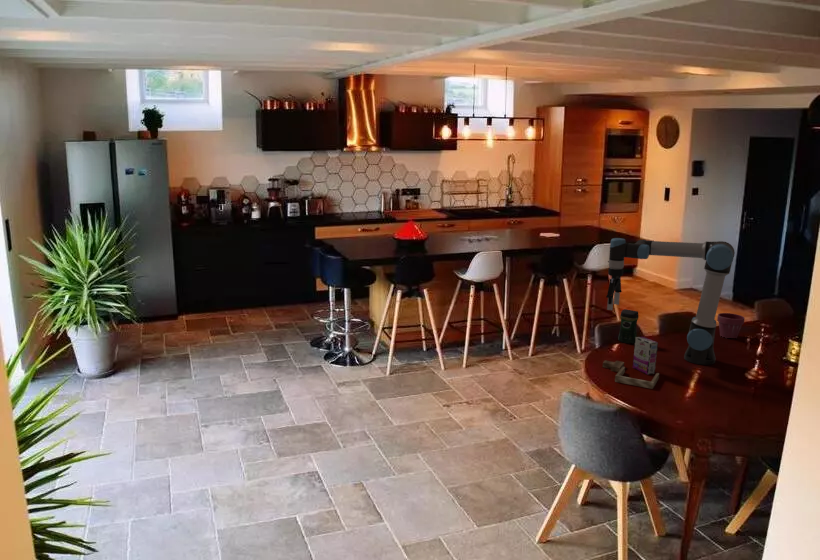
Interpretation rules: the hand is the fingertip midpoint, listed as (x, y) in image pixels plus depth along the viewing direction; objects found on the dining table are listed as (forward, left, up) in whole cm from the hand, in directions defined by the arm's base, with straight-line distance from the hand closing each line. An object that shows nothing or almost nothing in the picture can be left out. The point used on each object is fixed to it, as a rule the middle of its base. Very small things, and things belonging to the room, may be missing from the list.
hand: (613, 307), depth 364 cm
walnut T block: (-8, +22, -26) cm, 35 cm away
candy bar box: (-22, +18, -26) cm, 38 cm away
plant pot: (-53, -70, -26) cm, 91 cm away
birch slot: (-22, +33, -26) cm, 47 cm away
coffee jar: (-4, -27, -26) cm, 37 cm away
